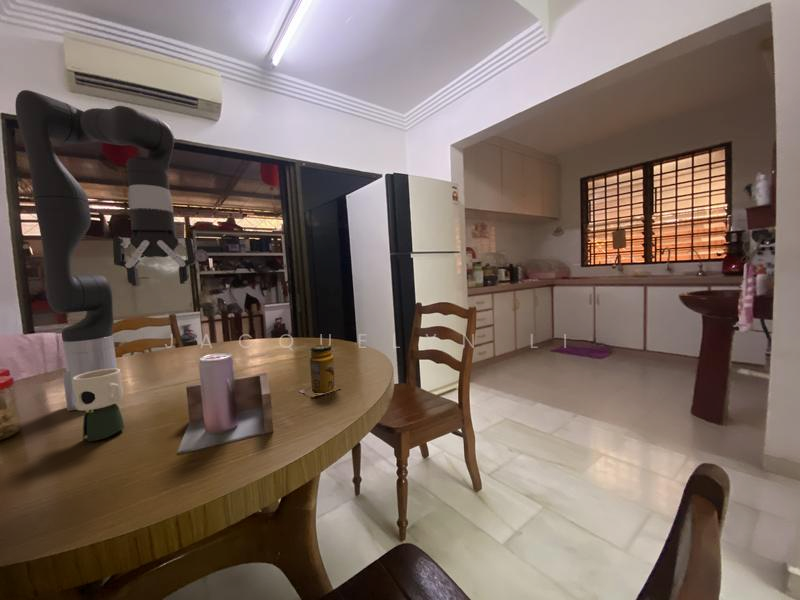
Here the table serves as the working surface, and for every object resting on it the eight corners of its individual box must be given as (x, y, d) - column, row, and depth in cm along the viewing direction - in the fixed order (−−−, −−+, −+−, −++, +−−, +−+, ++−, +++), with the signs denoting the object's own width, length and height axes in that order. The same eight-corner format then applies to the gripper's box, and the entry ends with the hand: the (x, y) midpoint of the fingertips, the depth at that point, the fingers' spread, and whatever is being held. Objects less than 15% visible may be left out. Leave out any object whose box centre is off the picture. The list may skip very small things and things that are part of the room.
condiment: (341, 389, 86) (338, 345, 85) (312, 399, 80) (309, 352, 79) (326, 383, 91) (324, 342, 90) (299, 392, 85) (296, 348, 84)
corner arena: (177, 454, 57) (172, 411, 56) (190, 420, 71) (187, 385, 70) (273, 431, 64) (270, 393, 63) (268, 405, 77) (266, 372, 77)
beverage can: (214, 422, 68) (208, 353, 67) (243, 420, 69) (237, 352, 67) (199, 436, 62) (191, 361, 61) (230, 434, 63) (223, 359, 61)
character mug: (64, 441, 63) (56, 377, 62) (106, 424, 70) (99, 366, 69) (102, 448, 60) (93, 381, 59) (142, 430, 67) (135, 369, 66)
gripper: (193, 214, 76) (199, 283, 77) (116, 211, 70) (124, 286, 71) (188, 208, 69) (195, 283, 70) (102, 204, 63) (112, 287, 64)
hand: (159, 284), depth 71 cm, fingers open, 8 cm apart
